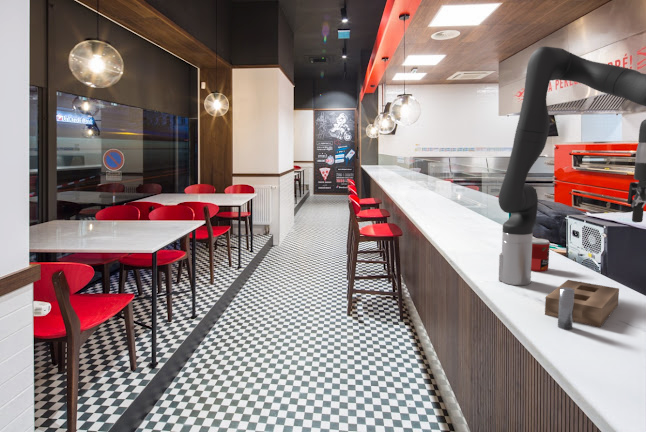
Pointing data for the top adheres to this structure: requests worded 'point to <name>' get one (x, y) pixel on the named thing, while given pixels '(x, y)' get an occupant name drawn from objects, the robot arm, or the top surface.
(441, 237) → the top surface
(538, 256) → the canned food
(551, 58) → the robot arm
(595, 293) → the hole block
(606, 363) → the top surface
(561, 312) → the pin
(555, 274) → the top surface
